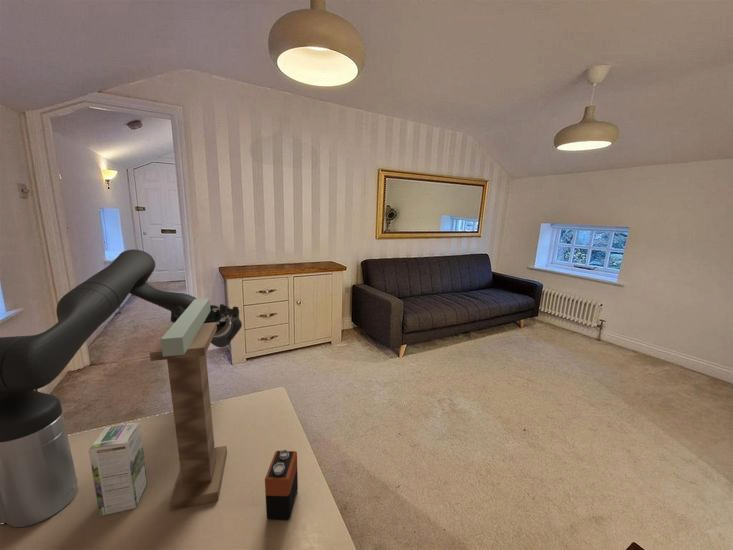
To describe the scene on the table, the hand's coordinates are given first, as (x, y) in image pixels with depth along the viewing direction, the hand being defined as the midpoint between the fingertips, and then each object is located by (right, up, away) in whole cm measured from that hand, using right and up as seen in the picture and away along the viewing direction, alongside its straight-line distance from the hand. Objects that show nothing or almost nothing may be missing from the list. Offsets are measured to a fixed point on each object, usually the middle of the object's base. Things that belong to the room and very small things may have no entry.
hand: (200, 309), depth 66 cm
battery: (+21, -37, -8) cm, 43 cm away
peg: (+2, -3, -8) cm, 9 cm away
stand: (+2, -35, -4) cm, 35 cm away
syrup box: (-10, -36, -8) cm, 38 cm away
